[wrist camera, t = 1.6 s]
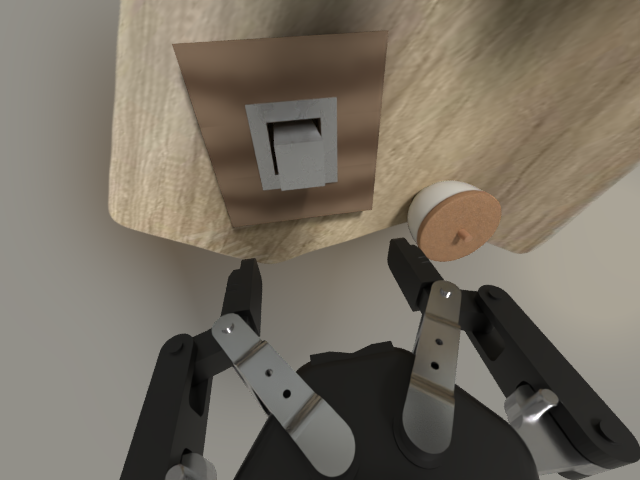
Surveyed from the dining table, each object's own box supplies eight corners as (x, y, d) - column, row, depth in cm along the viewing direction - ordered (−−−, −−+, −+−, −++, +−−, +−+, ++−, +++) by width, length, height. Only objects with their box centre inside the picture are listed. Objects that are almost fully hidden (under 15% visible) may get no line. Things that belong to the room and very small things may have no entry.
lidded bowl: (463, 155, 39) (516, 184, 31) (465, 214, 47) (508, 250, 38) (389, 188, 41) (420, 225, 32) (403, 240, 49) (431, 280, 40)
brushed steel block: (273, 122, 32) (274, 145, 24) (311, 119, 33) (323, 140, 25) (279, 159, 35) (281, 190, 28) (313, 156, 36) (325, 185, 28)
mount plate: (181, 44, 26) (170, 43, 24) (378, 32, 28) (389, 30, 26) (235, 216, 40) (232, 228, 37) (366, 200, 42) (372, 210, 39)
